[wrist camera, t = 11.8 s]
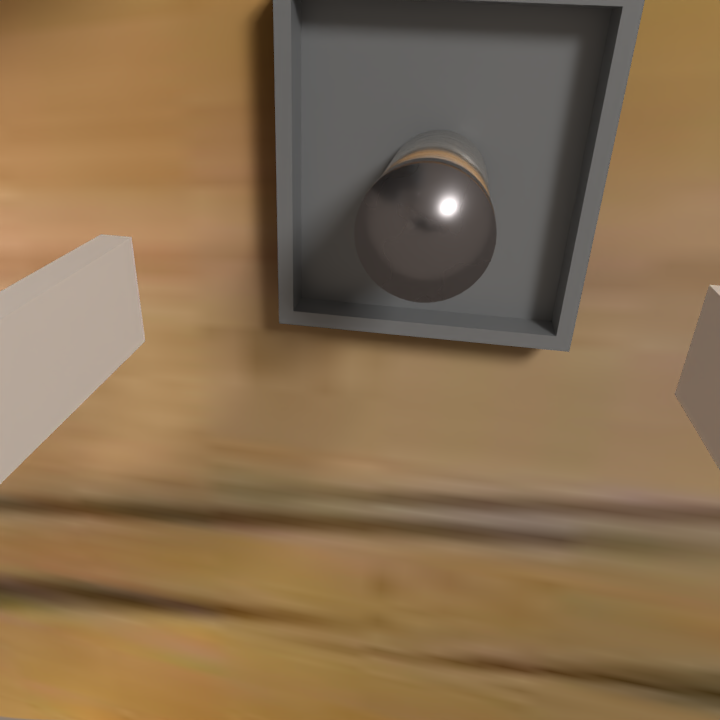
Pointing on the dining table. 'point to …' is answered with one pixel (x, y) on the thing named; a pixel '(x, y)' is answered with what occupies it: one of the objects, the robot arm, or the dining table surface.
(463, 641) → the dining table surface
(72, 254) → the robot arm
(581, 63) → the tray
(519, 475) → the dining table surface
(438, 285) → the shaker
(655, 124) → the dining table surface
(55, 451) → the dining table surface
